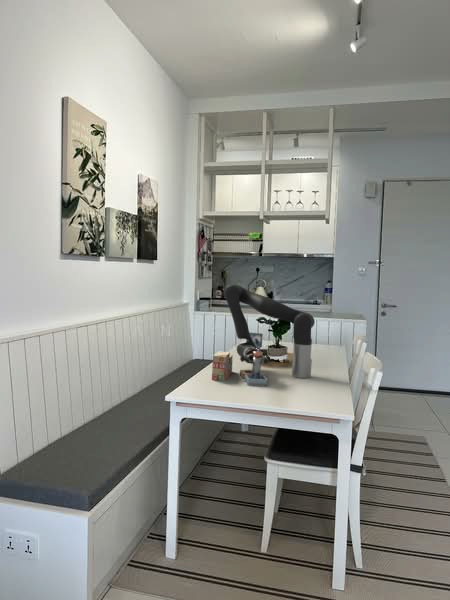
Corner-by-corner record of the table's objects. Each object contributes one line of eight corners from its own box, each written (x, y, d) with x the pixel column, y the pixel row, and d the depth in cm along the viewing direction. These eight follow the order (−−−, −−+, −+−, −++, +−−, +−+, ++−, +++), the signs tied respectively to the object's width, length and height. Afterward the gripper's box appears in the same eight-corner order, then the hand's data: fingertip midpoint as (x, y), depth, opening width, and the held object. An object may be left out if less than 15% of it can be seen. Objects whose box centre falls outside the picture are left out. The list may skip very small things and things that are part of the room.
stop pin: (259, 380, 233) (261, 351, 232) (261, 381, 228) (263, 352, 228) (250, 379, 232) (252, 351, 232) (251, 381, 227) (254, 352, 227)
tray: (263, 380, 235) (263, 374, 235) (266, 385, 226) (267, 379, 226) (244, 380, 234) (245, 374, 234) (247, 385, 225) (248, 379, 225)
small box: (245, 348, 322) (246, 333, 321) (246, 347, 329) (247, 332, 328) (261, 350, 320) (262, 334, 320) (261, 348, 327) (262, 333, 326)
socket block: (256, 375, 245) (257, 370, 245) (260, 380, 236) (260, 374, 236) (239, 375, 244) (240, 369, 244) (242, 379, 235) (242, 373, 235)
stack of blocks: (220, 370, 253) (221, 348, 252) (232, 372, 252) (233, 349, 251) (211, 380, 232) (212, 355, 231) (224, 381, 231) (225, 356, 230)
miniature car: (286, 363, 283) (286, 349, 282) (255, 361, 283) (256, 348, 282) (284, 359, 292) (284, 347, 291) (254, 358, 292) (255, 345, 291)
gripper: (238, 347, 242) (243, 353, 226) (265, 348, 244) (272, 354, 228) (237, 361, 243) (242, 368, 227) (264, 362, 244) (271, 369, 228)
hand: (257, 361), depth 227 cm, fingers open, 8 cm apart
